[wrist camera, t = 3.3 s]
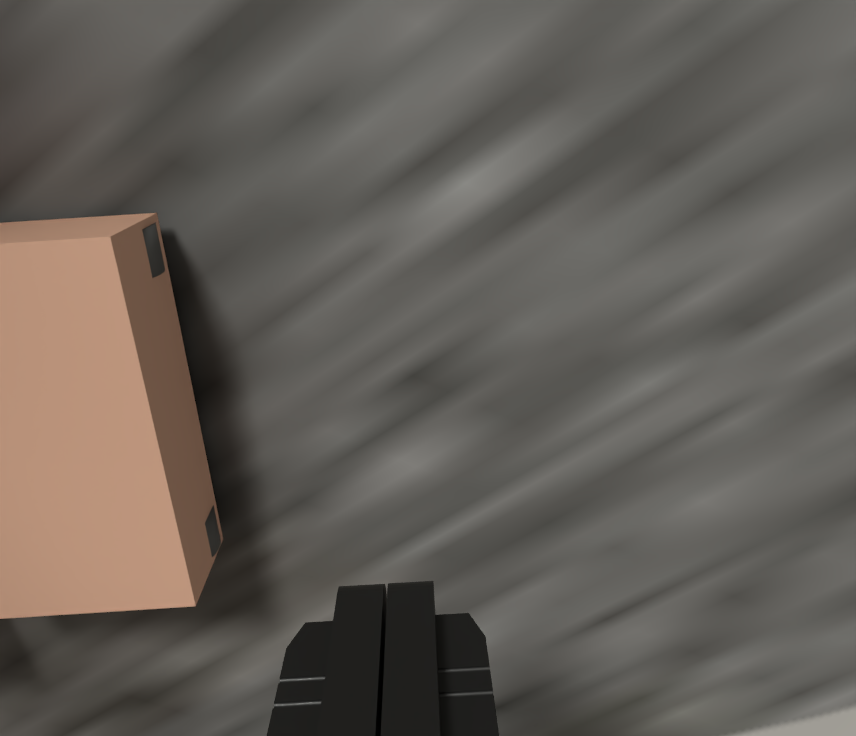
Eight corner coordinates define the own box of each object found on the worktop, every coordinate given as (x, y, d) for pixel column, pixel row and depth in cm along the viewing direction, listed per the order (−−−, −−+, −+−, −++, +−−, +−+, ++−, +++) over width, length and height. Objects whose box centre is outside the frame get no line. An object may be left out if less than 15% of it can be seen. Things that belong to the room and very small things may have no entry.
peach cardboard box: (-108, 226, 18) (-220, 257, 15) (166, 209, 18) (114, 236, 15) (2, 543, 22) (-68, 623, 19) (230, 529, 22) (199, 606, 19)
